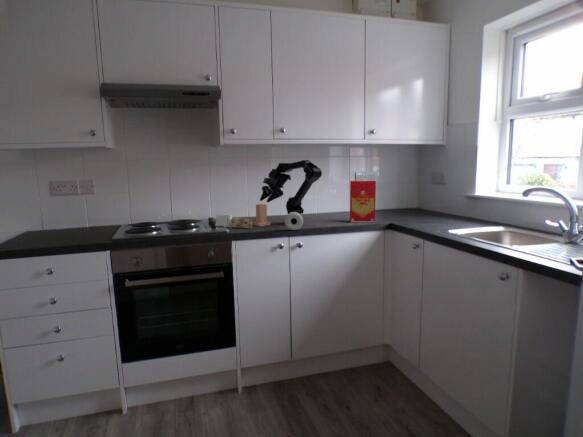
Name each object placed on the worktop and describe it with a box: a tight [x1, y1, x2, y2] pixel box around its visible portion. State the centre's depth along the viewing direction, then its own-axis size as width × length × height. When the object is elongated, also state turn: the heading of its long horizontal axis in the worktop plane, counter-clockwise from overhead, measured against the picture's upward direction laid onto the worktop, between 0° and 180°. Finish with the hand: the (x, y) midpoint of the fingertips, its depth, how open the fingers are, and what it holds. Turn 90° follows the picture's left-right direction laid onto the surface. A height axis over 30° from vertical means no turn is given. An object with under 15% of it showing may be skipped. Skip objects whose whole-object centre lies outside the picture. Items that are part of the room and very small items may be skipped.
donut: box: [284, 212, 304, 231], centre depth 199 cm, size 10×4×10 cm, turn 90°
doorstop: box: [252, 203, 271, 227], centre depth 218 cm, size 8×8×12 cm
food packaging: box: [349, 180, 377, 222], centre depth 226 cm, size 15×5×25 cm, turn 85°
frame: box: [215, 213, 233, 228], centre depth 212 cm, size 10×2×7 cm, turn 70°
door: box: [231, 217, 253, 229], centre depth 208 cm, size 12×2×5 cm, turn 67°
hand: (263, 201), depth 221 cm, fingers open, 9 cm apart
